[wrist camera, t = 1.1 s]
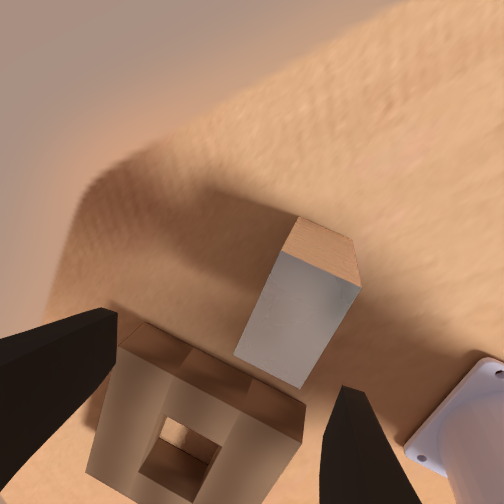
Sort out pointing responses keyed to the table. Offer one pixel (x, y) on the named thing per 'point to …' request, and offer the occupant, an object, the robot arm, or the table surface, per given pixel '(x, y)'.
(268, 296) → the wedge block
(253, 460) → the well block
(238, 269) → the table surface
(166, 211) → the table surface
